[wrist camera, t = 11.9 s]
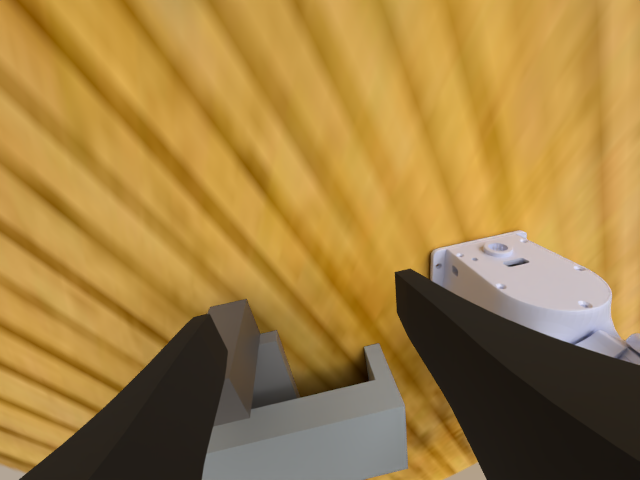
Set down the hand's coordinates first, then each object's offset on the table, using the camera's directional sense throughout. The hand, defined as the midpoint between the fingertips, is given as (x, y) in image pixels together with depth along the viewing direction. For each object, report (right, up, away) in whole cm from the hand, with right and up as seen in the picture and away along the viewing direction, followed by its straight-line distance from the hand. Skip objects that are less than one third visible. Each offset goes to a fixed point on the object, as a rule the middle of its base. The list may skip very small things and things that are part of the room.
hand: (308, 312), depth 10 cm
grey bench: (-5, -14, +17) cm, 22 cm away
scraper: (-5, -12, +15) cm, 20 cm away
